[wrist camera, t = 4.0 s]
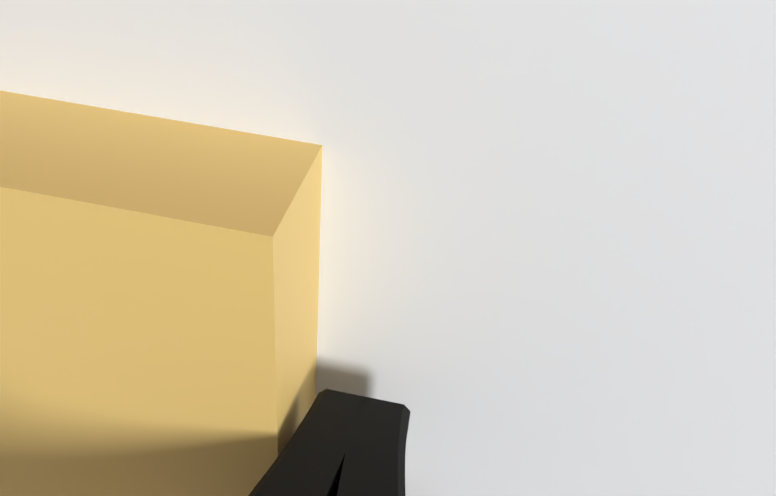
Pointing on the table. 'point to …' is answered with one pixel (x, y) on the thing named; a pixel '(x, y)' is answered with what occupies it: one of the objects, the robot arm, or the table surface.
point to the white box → (498, 213)
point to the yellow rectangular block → (151, 301)
